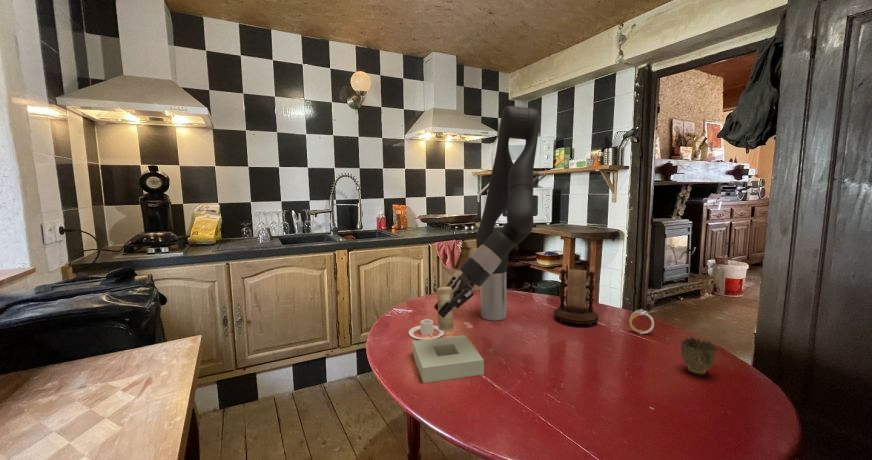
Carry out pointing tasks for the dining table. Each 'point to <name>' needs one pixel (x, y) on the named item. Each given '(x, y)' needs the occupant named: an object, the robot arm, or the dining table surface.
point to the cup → (698, 355)
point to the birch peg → (443, 297)
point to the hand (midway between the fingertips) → (438, 312)
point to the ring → (642, 312)
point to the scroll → (576, 297)
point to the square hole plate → (447, 358)
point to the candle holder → (426, 329)
